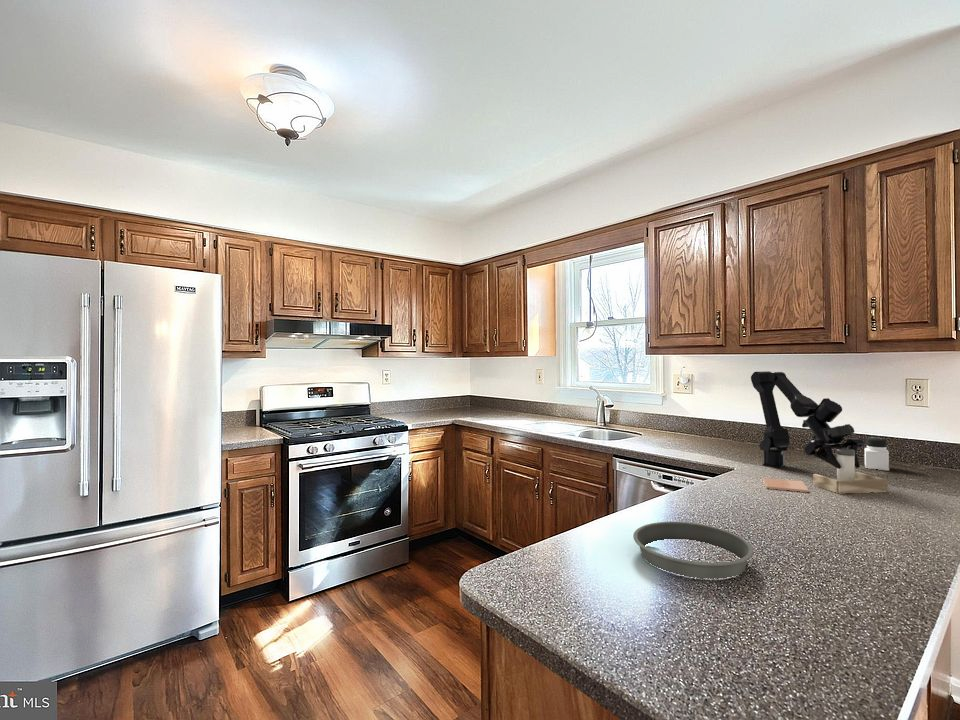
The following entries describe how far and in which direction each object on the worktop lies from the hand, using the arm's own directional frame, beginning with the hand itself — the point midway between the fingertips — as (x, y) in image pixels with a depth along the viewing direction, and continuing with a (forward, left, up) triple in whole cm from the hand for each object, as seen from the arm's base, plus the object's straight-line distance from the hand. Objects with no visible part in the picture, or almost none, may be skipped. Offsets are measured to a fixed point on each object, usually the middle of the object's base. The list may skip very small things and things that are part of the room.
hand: (849, 467), depth 157 cm
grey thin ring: (-14, -92, -8) cm, 94 cm away
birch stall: (0, 0, -7) cm, 7 cm away
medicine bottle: (+2, +43, -7) cm, 44 cm away
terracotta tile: (-16, -11, -7) cm, 21 cm away
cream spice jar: (-1, +1, -7) cm, 7 cm away
